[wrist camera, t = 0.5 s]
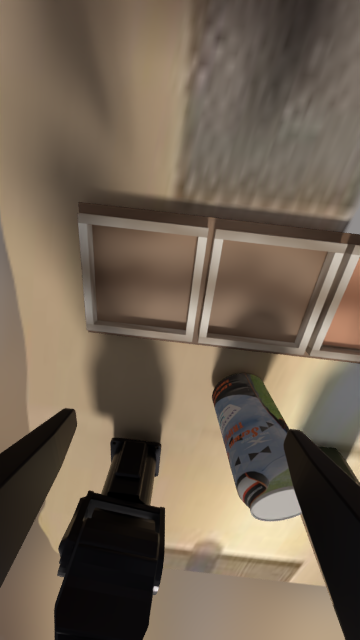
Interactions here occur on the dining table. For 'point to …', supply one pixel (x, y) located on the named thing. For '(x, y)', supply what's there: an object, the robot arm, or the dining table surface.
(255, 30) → the dining table surface
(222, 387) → the beverage can
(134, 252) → the board
